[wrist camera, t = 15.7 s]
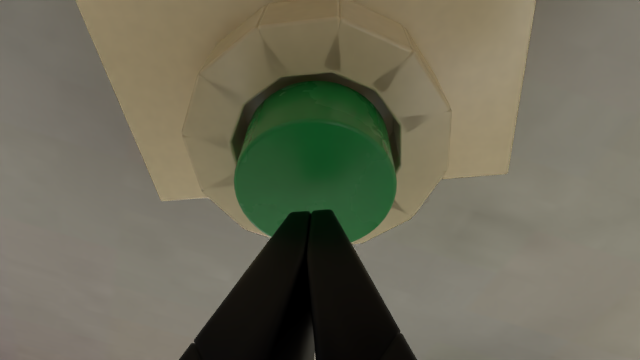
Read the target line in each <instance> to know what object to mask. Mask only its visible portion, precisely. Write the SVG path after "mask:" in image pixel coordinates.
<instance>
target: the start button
mask: <svg viewBox="0 0 640 360" xmlns="http://www.w3.org/2000/svg"><path fill="white" fill-rule="evenodd" d="M396 189H397V180H396V172H395V167H394V162H393V157H392V152H391V147H390V142H389V137H388V132H387V128H386V125H385V122H384V120H383V118H382V116H381V114H380V113H379V111H378V110H377V108H376V107H375V106H374V105H373V104H372V103H371V102H370V101H369V100H368V99H367V98H366V97H365V96H363V95H362V94H360V93H359V92H357V91H355V90H353V89H351V88H349V87H347V86H344V85H341V84H338V83H333V82H329V81H305V82H299V83H295V84H292V85H288V86H286V87H284V88H282V89H279V90H278V91H276V92H275V93H273V94H271V95H270V96H269V97H268V98H266V99H265V100H264V101H263V102H262V103H261V104H260V106H259V107H258V108H257V110H256V111H255V113H254V114H253V116H252V118H251V120H250V123H249V126H248V129H247V132H246V136H245V139H244V142H243V145H242V148H241V152H240V155H239V158H238V161H237V164H236V168H235V172H234V190H235V194H236V198H237V200H238V203H239V206H240V207H241V209H242V211H243V213H244V214H245V215H246V217H247V218H248V219H249V221H250V222H251V223H252V224H253V225H254V226H255V227H257V228H258V229H259V230H260V231H262V232H263V233H265V234H266V235H268V236H269V237H272V236H273V235H274V233H275V232H276V231H277V229H278V228H279V227H280V225H281V224H282V223H283V221H284V220H285V219H286V217H287V216H288V215H289V214H290V213H291V212H299V211H309V212H310V213H312V212H313V211H314V210H326V209H330V210H332V211H333V212H334V214H335V216H336V217H337V219H338V221H339V223H340V225H341V226H342V228H343V230H344V232H345V233H346V235H347V237H348V239H349V241H350V242H351V243H352V242H354V241H356V240H358V239H360V238H362V237H364V236H366V235H367V234H369V233H370V232H371V231H373V230H374V229H375V228H376V227H377V226H378V225H380V224H381V222H382V221H383V220H384V219H385V217H386V216H387V214H388V213H389V211H390V209H391V207H392V205H393V202H394V200H395V195H396Z"/></svg>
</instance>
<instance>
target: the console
mask: <svg viewBox="0 0 640 360" xmlns="http://www.w3.org/2000/svg"><path fill="white" fill-rule="evenodd" d="M75 1H76V3H77V5H78V8H79V10H80V12H81V15H82V17H83V19H84V22H85V24H86V26H87V29H88V31H89V34H90V36H91V38H92V41H93V43H94V45H95V48H96V50H97V52H98V55H99V57H100V59H101V62H102V64H103V66H104V69H105V71H106V73H107V76H108V78H109V80H110V83H111V85H112V87H113V90H114V92H115V94H116V97H117V99H118V101H119V104H120V106H121V108H122V111H123V113H124V115H125V118H126V120H127V122H128V125H129V127H130V129H131V132H132V134H133V136H134V139H135V141H136V143H137V146H138V148H139V150H140V153H141V155H142V157H143V160H144V162H145V164H146V167H147V169H148V172H149V174H150V176H151V179H152V181H153V183H154V186H155V188H156V190H157V193H158V195H159V197H160V200H161V201H173V200H185V199H198V198H209V199H210V200H211V201H213V202H214V203H215V204H216V205H217V206H218V207H219V208H220V209H222V210H223V211H224V212H225V213H226V214H227V215H228V216H230V217H231V218H232V219H233V220H234V221H235V222H236V223H237V224H239V225H240V226H241V227H242V228H243V229H246V230H247V231H250V232H254V233H257V234H260V235H263V236H266V237H269V236H268V235H266V234H265V233H263V232H262V231H260V230H259V229H258V228H257V227H255V226H254V225H253V224H252V223H251V222H250V221H249V219H248V218H247V217H246V215H245V214H244V213H243V211H242V209H241V207H240V206H239V203H238V200H237V198H236V194H235V190H234V172H235V168H236V164H237V161H238V158H239V155H240V152H241V148H242V145H243V142H244V139H245V136H246V132H247V129H248V126H249V123H250V120H251V118H252V116H253V114H254V113H255V111H256V110H257V108H258V107H259V106H260V104H261V103H262V102H263V101H264V100H265V99H266V98H268V97H269V96H270V95H271V94H273V93H275V92H276V91H278V90H279V89H282V88H284V87H286V86H288V85H292V84H295V83H299V82H305V81H329V82H333V83H338V84H341V85H344V86H347V87H349V88H351V89H353V90H355V91H357V92H359V93H360V94H362V95H363V96H365V97H366V98H367V99H368V100H369V101H370V102H371V103H372V104H373V105H374V106H375V107H376V108H377V110H378V111H379V113H380V114H381V116H382V118H383V120H384V122H385V125H386V128H387V132H388V137H389V142H390V147H391V152H392V157H393V162H394V167H395V172H396V180H397V189H396V195H395V200H394V202H393V205H392V207H391V209H390V211H389V213H388V214H387V216H386V217H385V219H384V220H383V221H382V222H381V224H380V225H378V226H377V227H376V228H375V229H374V230H373V231H371V232H370V233H369V234H367V235H366V236H364V237H362V238H360V239H358V240H356V241H354V242H352V243H351V244H358V243H360V244H361V243H364V242H366V241H368V240H370V239H372V238H374V237H376V236H378V235H380V234H382V233H384V232H386V231H388V230H390V229H392V228H394V227H396V226H398V225H400V224H402V223H404V222H406V221H408V220H410V219H411V218H412V217H413V216H414V215H415V214H416V212H417V211H418V210H419V208H420V207H421V206H422V204H423V203H424V201H425V200H426V199H427V197H428V196H429V195H430V193H431V192H432V191H433V189H434V188H435V187H436V185H437V184H438V183H439V181H440V180H441V179H451V178H463V177H476V176H489V175H501V174H507V173H508V169H509V163H510V157H511V151H512V145H513V139H514V133H515V127H516V121H517V115H518V108H519V102H520V96H521V90H522V84H523V78H524V72H525V66H526V60H527V54H528V48H529V42H530V36H531V30H532V23H533V17H534V11H535V5H536V0H75ZM269 238H271V237H269Z"/></svg>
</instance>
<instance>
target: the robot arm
mask: <svg viewBox="0 0 640 360" xmlns="http://www.w3.org/2000/svg"><path fill="white" fill-rule="evenodd" d="M194 343H195V344H194ZM194 343H192V344H190V346H189V347H188V348H187V350H186V351H185V352H184V354H183V355H182V356H181V358H180V359H179V360H314V353H315V355H316V360H417V359H416V357H415V355H414V354H413V352H412V350H411V349H410V347H409V345H408V343H407V342H406V340H405V338H404V336H403V335H402V334H401V333H400V330H399V328H398V326H397V324H396V322H395V321H394V319H393V317H392V315H391V314H390V312H389V310H388V308H387V306H386V305H385V303H384V301H383V299H382V297H381V296H380V294H379V292H378V290H377V289H376V287H375V285H374V283H373V281H372V280H371V278H370V276H369V274H368V273H367V271H366V269H365V267H364V265H363V264H362V262H361V260H360V258H359V257H358V255H357V253H356V251H355V249H354V248H353V246H352V244H351V242H350V241H349V239H348V237H347V235H346V233H345V232H344V230H343V228H342V226H341V225H340V223H339V221H338V219H337V217H336V216H335V214H334V212H333V211H332V210H330V209H326V210H314V211H313V212H312V213H310V212H309V211H299V212H291V213H290V214H289V215H288V216H287V217H286V219H285V220H284V221H283V223H282V224H281V225H280V227H279V228H278V229H277V231H276V232H275V233H274V235H273V236H272V237H271V239H270V240H269V241H268V242H267V244H266V245H265V246H264V248H263V249H262V250H261V252H260V253H259V254H258V256H257V257H256V258H255V260H254V261H253V262H252V264H251V265H250V266H249V268H248V269H247V270H246V272H245V273H244V274H243V276H242V277H241V278H240V280H239V281H238V282H237V284H236V285H235V286H234V288H233V289H232V290H231V292H230V293H229V294H228V296H227V297H226V298H225V300H224V301H223V302H222V304H221V305H220V306H219V308H218V309H217V310H216V312H215V313H214V314H213V316H212V317H211V318H210V319H209V321H208V322H207V323H206V325H205V326H204V327H203V329H202V330H201V331H200V333H199V334H198V335H197V337H196V338H195V339H194Z"/></svg>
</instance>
